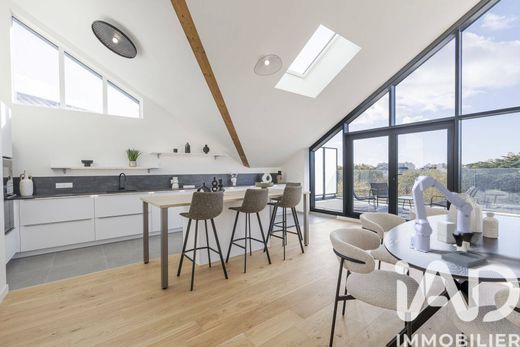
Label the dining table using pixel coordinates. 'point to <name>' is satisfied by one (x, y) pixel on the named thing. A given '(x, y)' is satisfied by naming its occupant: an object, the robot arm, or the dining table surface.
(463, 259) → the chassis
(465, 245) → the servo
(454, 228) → the supplement box
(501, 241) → the dining table surface
